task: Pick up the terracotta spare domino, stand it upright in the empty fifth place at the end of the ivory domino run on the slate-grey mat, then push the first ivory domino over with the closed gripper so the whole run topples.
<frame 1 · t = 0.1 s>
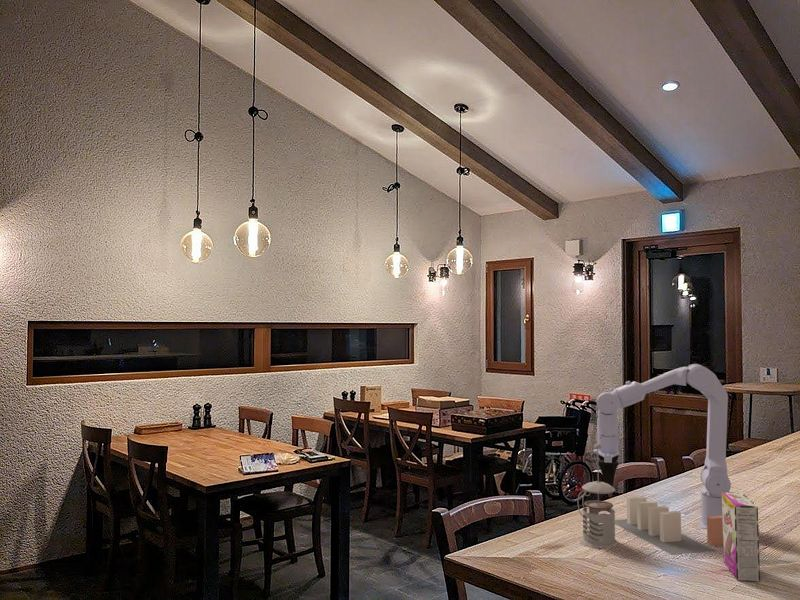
hand: (608, 483, 190), 10 cm above the table, fingers open, 7 cm apart
domino 3: (658, 534, 175), resting on slate mat
domino 1: (636, 523, 185), resting on slate mat
french press: (596, 542, 171), on the table
candy bar box: (740, 573, 150), on the table
slate mat: (658, 535, 175), on the table
spare domino: (718, 545, 168), on the table
domino 4: (670, 540, 170), resting on slate mat
domino 2: (647, 528, 180), resting on slate mat
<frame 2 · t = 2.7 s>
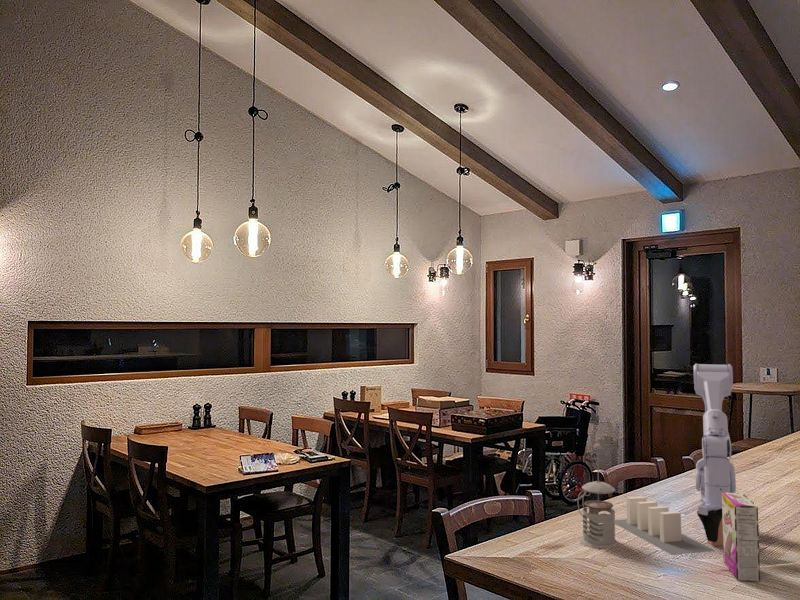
hand: (718, 538, 168), 2 cm above the table, fingers closed on spare domino, 5 cm apart
spare domino: (718, 545, 168), on the table, touching gripper
everything else where it was.
when the fingers open (3 cm above the table, at t = 6.8 s): spare domino stays where it is, resting on slate mat.
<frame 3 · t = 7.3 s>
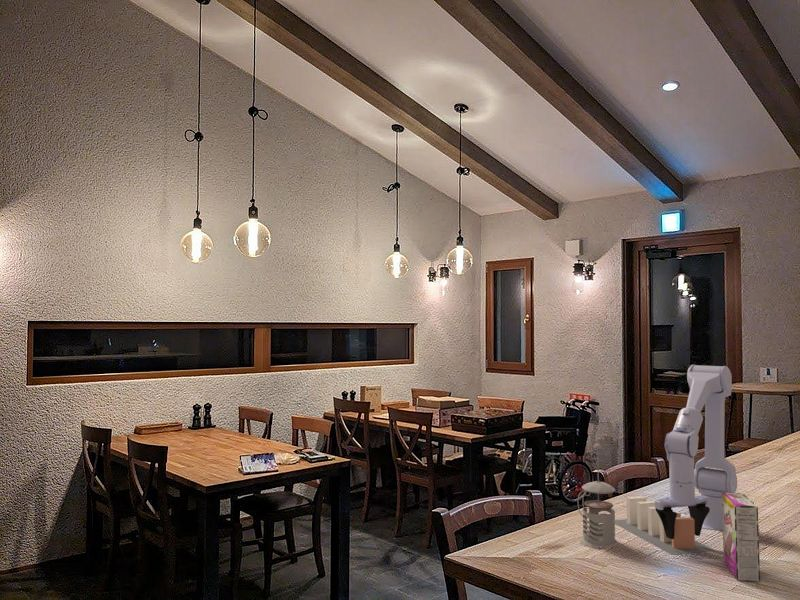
hand: (683, 536, 165), 3 cm above the table, fingers open, 7 cm apart
spare domino: (683, 547, 165), resting on slate mat
everything else where it was.
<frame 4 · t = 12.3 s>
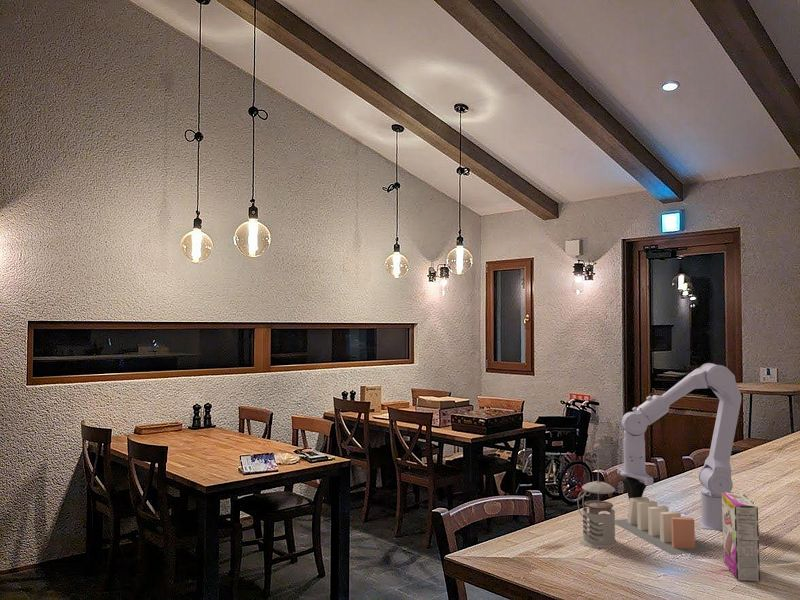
hand: (635, 505, 186), 5 cm above the table, fingers closed
domino 1: (636, 522, 185), point 1 cm above the table, tilted 12°, touching slate mat
everything else where it was.
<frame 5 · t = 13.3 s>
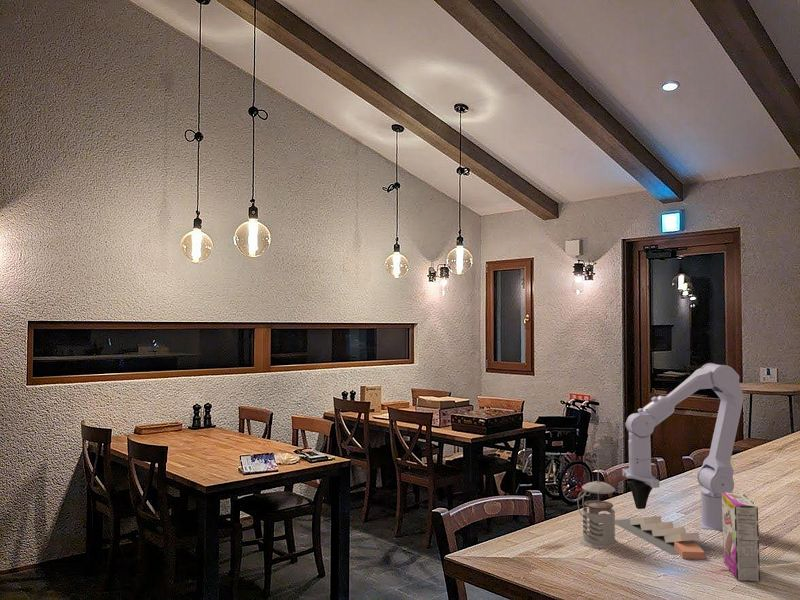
hand: (640, 508, 183), 5 cm above the table, fingers closed
domino 3: (660, 532, 174), point 1 cm above the table, tilted 71°, touching domino 2, domino 4, slate mat
domino 1: (638, 521, 184), point 1 cm above the table, tilted 71°, touching domino 2, slate mat
spare domino: (684, 545, 164), point 1 cm above the table, tilted 90°, touching domino 4, slate mat
domino 4: (673, 538, 169), point 1 cm above the table, tilted 69°, touching domino 3, slate mat, spare domino
domino 2: (649, 526, 179), point 1 cm above the table, tilted 71°, touching domino 1, domino 3, slate mat
everything else where it was.
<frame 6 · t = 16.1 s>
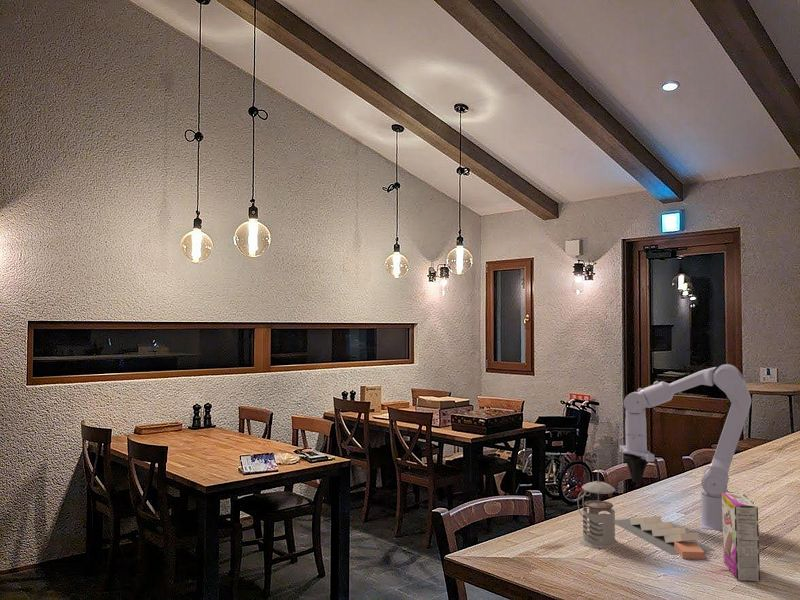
hand: (636, 482, 192), 10 cm above the table, fingers closed
nothing on the table moved.
at the end: spare domino tilted 90°; domino 1 tilted 71°; the gripper is holding nothing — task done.
